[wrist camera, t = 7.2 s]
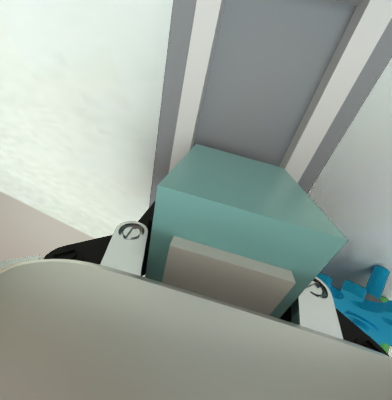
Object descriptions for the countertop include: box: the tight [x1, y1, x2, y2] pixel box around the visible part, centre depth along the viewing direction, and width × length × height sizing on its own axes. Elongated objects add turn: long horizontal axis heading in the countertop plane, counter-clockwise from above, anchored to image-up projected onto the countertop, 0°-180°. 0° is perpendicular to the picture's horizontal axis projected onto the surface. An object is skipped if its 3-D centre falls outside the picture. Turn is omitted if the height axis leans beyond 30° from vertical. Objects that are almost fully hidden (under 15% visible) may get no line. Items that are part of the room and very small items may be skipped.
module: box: [145, 144, 348, 319], centre depth 9 cm, size 5×8×6 cm, turn 167°
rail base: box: [149, 0, 392, 208], centre depth 12 cm, size 12×18×4 cm, turn 167°
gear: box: [316, 266, 392, 354], centre depth 16 cm, size 11×6×10 cm
